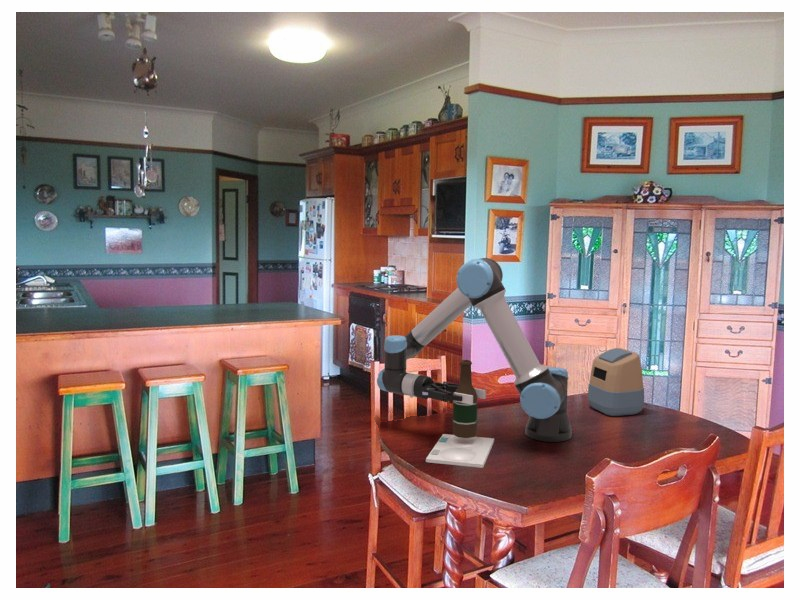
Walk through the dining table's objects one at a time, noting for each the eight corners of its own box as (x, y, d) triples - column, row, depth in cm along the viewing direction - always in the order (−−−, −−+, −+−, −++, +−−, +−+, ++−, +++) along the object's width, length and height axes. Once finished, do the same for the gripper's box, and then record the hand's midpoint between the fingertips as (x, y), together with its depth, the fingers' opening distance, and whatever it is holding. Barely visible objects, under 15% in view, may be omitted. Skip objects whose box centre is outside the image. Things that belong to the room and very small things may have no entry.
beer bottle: (450, 430, 209) (451, 358, 206) (474, 430, 210) (475, 358, 207) (454, 438, 202) (455, 363, 199) (479, 438, 202) (480, 363, 199)
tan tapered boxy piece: (583, 406, 250) (585, 347, 247) (621, 403, 254) (623, 345, 252) (608, 418, 234) (610, 356, 231) (648, 415, 238) (650, 353, 236)
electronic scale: (494, 441, 209) (494, 437, 209) (482, 467, 186) (483, 463, 186) (443, 436, 214) (443, 433, 214) (425, 462, 191) (425, 458, 191)
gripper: (435, 390, 223) (494, 401, 210) (400, 403, 207) (462, 416, 194) (435, 369, 222) (494, 379, 209) (400, 381, 206) (462, 392, 193)
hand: (478, 397), depth 201 cm, fingers closed on beer bottle, 7 cm apart
